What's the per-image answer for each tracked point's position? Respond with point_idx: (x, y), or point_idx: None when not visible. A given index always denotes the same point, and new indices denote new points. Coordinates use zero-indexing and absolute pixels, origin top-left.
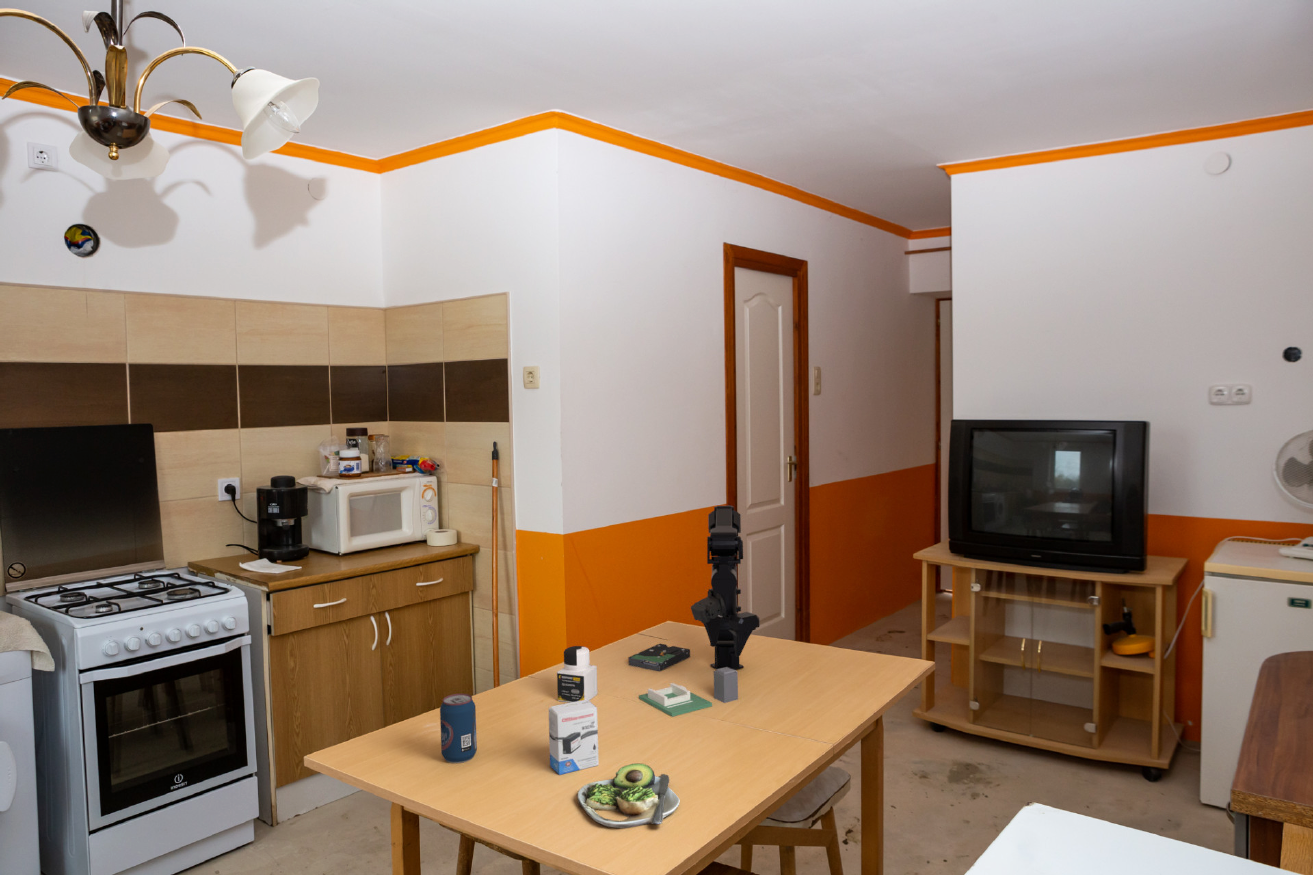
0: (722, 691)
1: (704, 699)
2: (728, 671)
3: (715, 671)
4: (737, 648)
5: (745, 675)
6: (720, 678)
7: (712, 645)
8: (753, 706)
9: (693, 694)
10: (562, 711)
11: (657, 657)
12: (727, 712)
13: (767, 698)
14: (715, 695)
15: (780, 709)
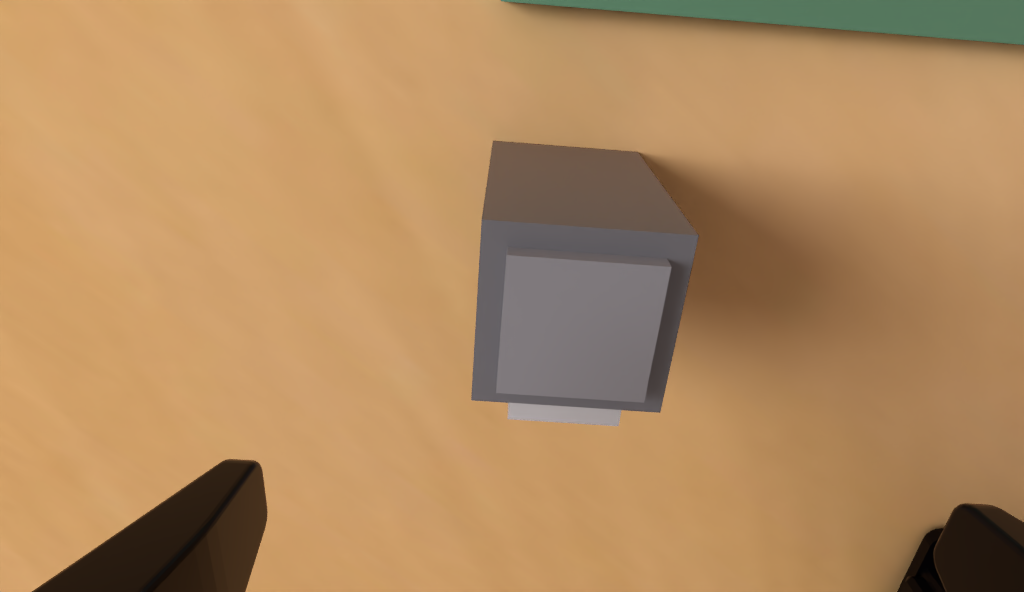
0: (515, 165)
1: (615, 3)
2: (510, 320)
3: (665, 238)
4: (76, 577)
5: (781, 576)
6: (552, 207)
7: (974, 517)
8: (295, 261)
9: (789, 9)
10: None
11: None
12: (296, 5)
13: (369, 424)
14: (619, 156)
15: (148, 356)
